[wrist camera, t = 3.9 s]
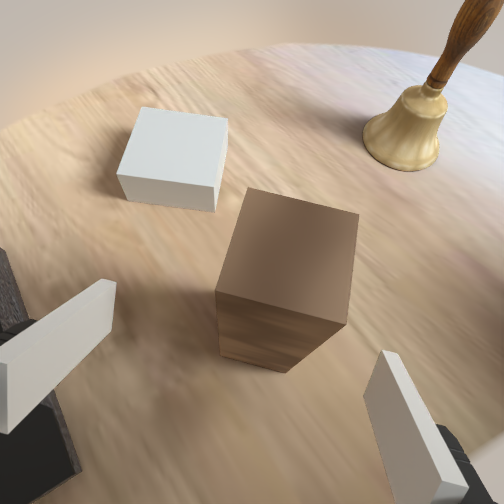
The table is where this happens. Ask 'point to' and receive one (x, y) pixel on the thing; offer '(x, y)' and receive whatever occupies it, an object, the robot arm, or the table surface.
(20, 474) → the picture frame
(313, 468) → the table surface
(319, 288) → the walnut block
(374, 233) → the table surface
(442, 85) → the hand bell
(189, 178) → the white block
